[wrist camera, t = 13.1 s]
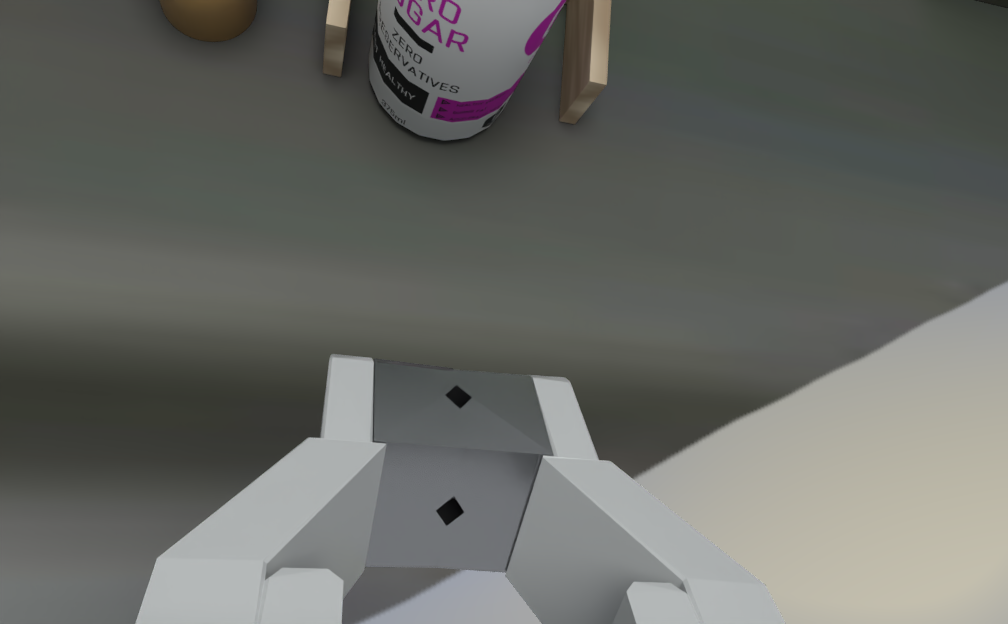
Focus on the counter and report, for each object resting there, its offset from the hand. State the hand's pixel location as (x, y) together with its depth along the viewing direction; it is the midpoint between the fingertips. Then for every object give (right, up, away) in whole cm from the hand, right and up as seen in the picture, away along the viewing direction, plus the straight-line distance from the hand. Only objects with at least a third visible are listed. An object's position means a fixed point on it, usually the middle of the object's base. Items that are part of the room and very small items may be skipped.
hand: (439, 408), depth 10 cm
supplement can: (-3, +15, +35) cm, 38 cm away
